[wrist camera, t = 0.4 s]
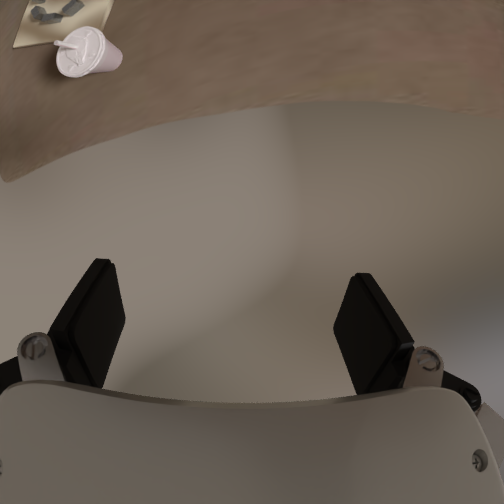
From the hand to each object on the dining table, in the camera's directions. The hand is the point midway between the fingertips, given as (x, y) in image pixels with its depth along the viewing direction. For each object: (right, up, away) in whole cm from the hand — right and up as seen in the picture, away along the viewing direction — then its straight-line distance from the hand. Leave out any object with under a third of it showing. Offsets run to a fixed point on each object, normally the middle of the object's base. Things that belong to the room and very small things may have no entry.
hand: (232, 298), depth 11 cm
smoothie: (-19, +28, +17) cm, 38 cm away
